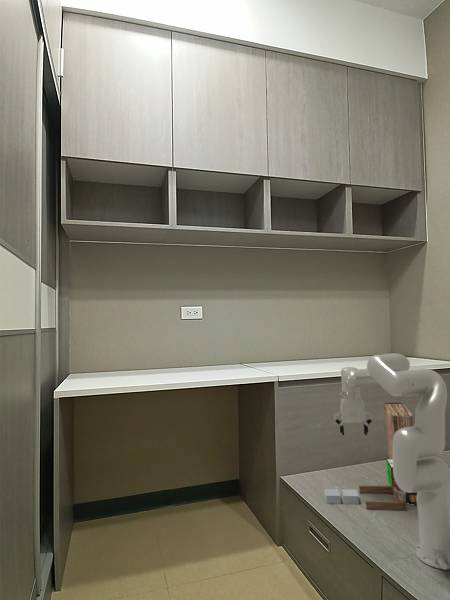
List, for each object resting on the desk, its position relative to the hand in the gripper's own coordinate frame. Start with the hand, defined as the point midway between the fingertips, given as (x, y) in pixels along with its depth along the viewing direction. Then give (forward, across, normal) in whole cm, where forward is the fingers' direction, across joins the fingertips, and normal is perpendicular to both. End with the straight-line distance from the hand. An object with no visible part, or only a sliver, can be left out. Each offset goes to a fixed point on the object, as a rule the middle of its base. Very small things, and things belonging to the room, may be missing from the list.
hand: (354, 434), depth 167 cm
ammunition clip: (+26, +23, -7) cm, 36 cm away
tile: (+27, -4, -5) cm, 27 cm away
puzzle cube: (+27, +20, +11) cm, 35 cm away
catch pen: (+26, +9, -5) cm, 28 cm away
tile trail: (+27, -11, -5) cm, 30 cm away
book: (+27, +26, +31) cm, 48 cm away
